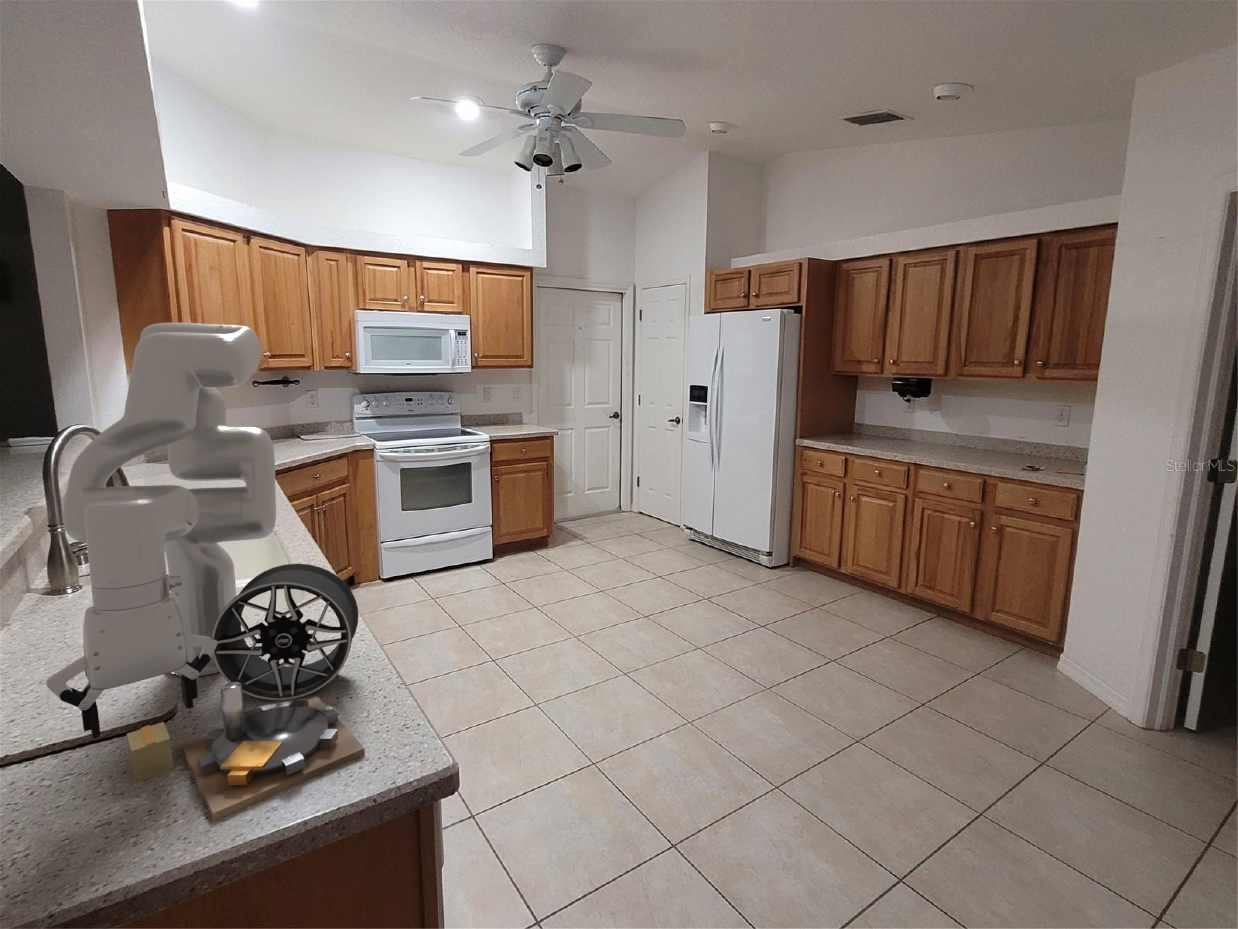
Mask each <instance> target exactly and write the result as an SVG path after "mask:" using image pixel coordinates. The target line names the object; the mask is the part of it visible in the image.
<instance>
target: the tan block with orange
mask: <svg viewBox="0 0 1238 929" xmlns="http://www.w3.org/2000/svg"><path fill="white" fill-rule="evenodd" d="M126 740H127V748H128V756H129V765H130V766H131V771H132V775H133V779H134V782H135V783H137V782H140V781H143V780H146V779H148V778H151V777H153V776H156V775H159V774H162V773H165V772H168V771H171V770H173V769H174V762H173V753H172V752H173V751H172V746H171V744H172V743H171V737H170V734H169V732H168V730H167V727H166V725H165V722H164V721H162V722H159V723H155V724H152V725H150V724H149V725H145V726H143V727H140V728H139V729H137V730H135V731H131V732H128V733H127V732H126Z"/></svg>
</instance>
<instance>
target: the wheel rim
mask: <svg viewBox="0 0 1238 929" xmlns="http://www.w3.org/2000/svg"><path fill="white" fill-rule="evenodd" d="M277 590H283V592H284V599H285V601H286V602H285V603H286V605H287V609H288V610H286V611H284V612H281V611H278V610H277V593H278V592H277ZM291 590H298V591H302V592H303V591H304V592H306V593H309V594H310V595H311V594H312V595H314V596H316V597H313V598H310V599H309V600H307V601H305V602H303V603H301V604H299V605H297V603H296V602H295V600H294V598H293V595H292V591H291ZM269 591H270V598H269V603H268V607H266V606H262V605H258V604H256V603H253V602H249V601H251V600H252V599H254V598H256V597H257V596H260V595H262V594H265V593H267V592H269ZM236 595H237V596H236V597H235V598H234V599H233V600H232V601H231V602H230V603H229V604H228V605H227V606H226V607H225V608H224V609H223V611H222V612H221V613H220V615H219V616H218V618H217V620H216V622H215V625H214V627H213V631H212V635H211V637H213V638H215V639H216V640H217V642H218V644H217V646H216V648H215V650H214V652H213V654H212V656H213V660H214V662H215V665H216V667H217V669H218V671H219V672H218V673H220V675H221V676H222V677H223V679H224V680H225V681H226V682H228V683H232V682H239V683H241V687H242V694H245V695H248V696H250V697H254V698H257V699H260V700H265V701H266V700H268V701H288V700H293V699H294V700H296V699H298V698H302V697H305V696H309V695H311V694H313V693H316V692H317V691H319V690H321V689H322V688H324V687H326V685H328V684H329V683H330V682H331V681H332V680H333V679H334V678H335V677H336V676H337V675H338V674H339V673H340V671H341V670H342V669H343V667H344V666H345V663H346V661H347V660H348V657H349V654H350V650H351V648H352V643H353V642H352V641H353V639H354V637H355V635H356V632H357V629H358V625H359V624H358V623H359V617H360V616H359V606H358V603H357V599H356V598H355V595H354V593H353V592H352V589H351V588H350V586H348V585H347V583H346V582H345V581H344V580H343V579H341V578H340V577H339V576H338V575H336V574H335V573H333V572H332V571H330V570H327V569H326V568H324V567H321V566H317V565H314V564H313V565H312V564H306V563H288V564H287V563H286V564H282V565H281V564H280V565H278V566H274V567H271V568H269V569H267V570H265V571H262V572H260V574H258V575H256V576H255V577H253V578H252V579H251V580H250V581H249V582H247V583H246V585H245V586H244V587H243V588H242V589H241V591H240V592H239V594H236ZM319 600H322V601H323V602H324V603H325V605H324V608H323V610H322V613H321V614H320V617H319V619H318V620H317V621H316V620H313V619H310V618H307V619H306V620H305V621H303V622H302V621H301V619H302V618H303V617H304V614H303V612H302V611H301V609H302V608H304V607H306V606H308V605H310V604H312V603H315V602H316V601H319ZM245 607H249V608H252V609H256V610H259V611H260V612H265V613H266V614H265V617H264V620H263V621H264V622H265V623H266V624H265V623H263V622H262V621H261V622H260V623H257V624H255V625H253V626H251V627H249V626H248V624H247V622H246V621H245V619H244V618H243V617H242V615H243V611H244V609H245ZM329 607H330V609H331V610H332V611H333V612H334V614H335V615H336V618H337V620H338V623H339V626H331V625H327V624H324V623H322V621H323V619H324V617H325V614H326V613H327V610H328V609H329ZM288 614H289V615H290V616H288ZM242 628H243V630H242ZM309 631H313V632H312V633H309ZM317 632H321V633H328V634H339V633H340V637H339V638H333V639H326V640H318V639H317V637H316V634H317ZM256 635H258V636H259V638H257V636H256ZM248 638H250V639H251V641H252V642H253V643H252V645H251V646H250V647H249V646H248V645H247V643H246V642H247V641H246V640H245V639H248ZM311 639H312V640H311ZM257 644H258V645H259V644H260V646H258V645H257ZM333 645H336V646H335V648H334V649H332V650H331V652H329V653H328V654H327V653H326V652H325V650H324V648H326V647H329V646H333ZM315 651H318V652H320V654H321V656H322V658H320V659H318V660H316V661H314V662H312V663H308V664H304V665H303V663H304V661H305V658H306V655H307V653H312V652H315ZM305 652H307V653H305ZM265 655H269V657H268V658H267V660H266V659H264V658H263V657H264V656H265ZM290 659H291V660H294V662H291V660H290ZM280 660H283V662H281V663H280Z"/></svg>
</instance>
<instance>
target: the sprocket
mask: <svg viewBox="0 0 1238 929" xmlns="http://www.w3.org/2000/svg"><path fill="white" fill-rule="evenodd" d="M220 699H221V710H222V720H223V721H222V722H223V728H219V729H217V728H213V730H212V731H210V732H209V733H208V734H206V735H207V736H206V735H205V736H206V737H205V738H204V745H205V748H212V749H211V751H212V753H210V754H207V755H205V756H202V757H200V758H197V760H198V768H199V770H200V772H201V774H202V775H203V776H204V775H207V774H209V773H212V772H214V771H217V770H218V771H219V772H221V773H223V774H226V775H228V785H247V784H248V782H249V781H250V780H251V779H252V778H253V776H260V775H265V774H270V773H274V772H277V771H280V770H283V771H284V773H285V774H286V775H289V774H292V773H294V772H296V771H298V770H301V769H303V768H305V762H304V760H305V759H306V758H308V757H309V756H311V755H312V754H313V753H315V752H316V751H317V750H318V749H319V748H332V746H333V745H334V743H335V742H336V740H337V739H338V729H328V725H329V724H332V723H334V722H336V721H338V720H339V718H338V714H339V713H338V711H336V709H335V708H333V706H329V707H327V708H326V709H323V710H321V711H320V710H318V709H315V708H312V707H309V703H308V700H309V699H294V700H293V699H292V701H291V703H290V704H288V705H285V706H284V705H283V706H278V707H273V708H268V709H265V710H264V709H263V708H262V707H261V706H257V707H254V708H251V709H249V710H246V711H244V702H243V692H242V687H241V683H239V682H232V683H229V682H228V683H226V684H224V685H222V686H221V687H220Z"/></svg>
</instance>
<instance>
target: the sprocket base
mask: <svg viewBox="0 0 1238 929" xmlns="http://www.w3.org/2000/svg"><path fill="white" fill-rule="evenodd" d="M307 700H308V703H309V707H312V708H315V709H318V710H320V711H321V710H323V709H326V708H328V707H327V705H326V704H324V702H323V701H322V700H321V699H320V698H319V697H318V696H315V697H312V698H309V699H307ZM328 729H338V739H337V740H336V742H335V743H334V745H333V746H332V748H319V749H318V750H317V751H316V752H315V753H313V754H312V755H311V756H309V757H308V758H306V759H305V760H304V762H305V768H303V769H301V770H298V771H296V772H294V773H292V774H289V775H286V774H285V773H284V771H283V770H280V771H277V772H274V773H270V774H265V775H260V776H253V778H252V779H251V780H250V781H249V782H248V784H247V785H228V775H226V774H223V773H221V772H219V771H218V770H217V771H214V772H212V773H209V774H207V775H204V776H203V775H202V774H201V772H200V770H199V768H198V760H197V758H200V757H202V756H205V755H207V754H210V753H212V751H211V749H212V748H205V745H204V738H205V737H206V736H207V735H208V734H206V735H204V736H200V737H197V738H195V739H193V740H190V741H186V742H184V743H181V744H180V748H181V753H182V756H183V758H184V759H185V761H186V763H187V766H188V768H189V770H190V772H191V774H192V777H193V779H194V780H195V783H196V785H197V787H198V789H199V792H200V794H201V796H202V798H203V800H204V803H205V805H206V808H207V810H208V812H209V814H210V816H211V818H212V820H213V821H216V820H218V819H221V818H223V817H226V816H228V815H230V814H233V813H235V812H237V811H239V810H242V809H244V808H246V807H249V806H251V805H253V804H256V803H257V802H260V801H262V800H264V799H267V798H269V797H272V796H273V795H277V794H278V793H280V792H283V791H285V790H287V789H290V788H292V787H294V786H296V785H299V784H301V783H303V782H305V781H308V780H310V779H313V778H315V777H317V776H319V775H321V774H324V773H326V772H328V771H331V770H333V769H335V768H337V767H340V766H342V765H344V764H347V763H348V762H351V761H354V760H355V759H358V758H360V757H362V756H364V755H366V752H365V746H363V745H362V744H361V743H360V742H359V740H358V739H356V737H355V736H354V735H353V734H352V732H351V731H350V730H348V728H347V727H346V726H345V725H344V724H343V723H342V722H341V721H340V720H339V719H338V721H336V722H334V723H332V724H329V725H328Z"/></svg>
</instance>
